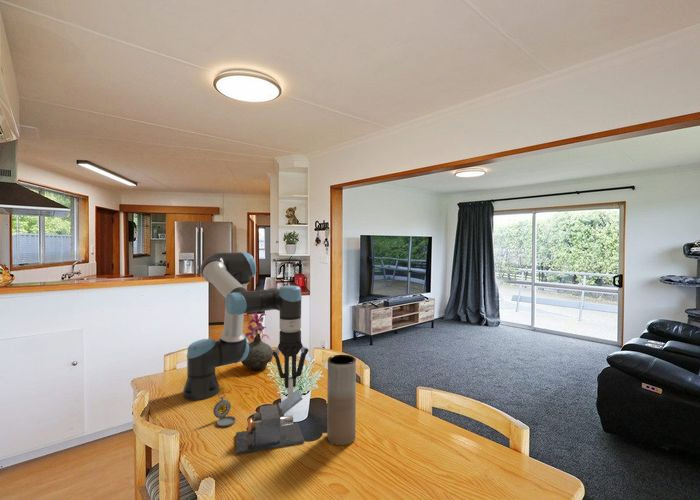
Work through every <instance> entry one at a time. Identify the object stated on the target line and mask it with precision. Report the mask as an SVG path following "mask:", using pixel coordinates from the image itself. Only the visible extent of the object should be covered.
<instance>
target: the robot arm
mask: <svg viewBox="0 0 700 500" xmlns="http://www.w3.org/2000/svg"><path fill="white" fill-rule="evenodd" d="M256 273H257V264H256V261H255V259H254V257H253V255H252V254H251V253H249V252H241V251H240V252H239V251H238V252H215V253H212V254H210V255H208V256H207V257H206V258H205V259H204V260H203V261H202V263H201V265H200V274H201V277H202V278H203V279H204V280H205V281H206V282H207V283H210V284H212V285H213V286H214V287H215V288H216V290H217V291H218V292H219V293H220V294H221V296H223V297H224V299H225V301H224V303H225V304H224V307H225V308H224V317H223V318H224V319H223V321H224V322H223V331H222V332H221V333H220V334H219V340H217V341H216V340H215V339H214V338H204V339H199V340H196V341H194V342H192V343H191V344H189V345H188V347H187V351H186V352H187V354H186V361H187V362H186V363H187V365H186V369H187V370H186V371H187V375H186V377H187V378H186V381H185V384H184V386H183V390H182V397H183V398H184V399H185V400H189V401H199V400H206V399H209V398H212V397H214V396H216V395H217V394H219V392H220V384H219V380H218V378H217V376H216V368H219V367H223V366H228V365H232V364H237V363H239V362H241V363H242V361H243V360H245V359H246V357H247V356H248V353H249V344H250V341H249V338H246V337H245V334H246V333H244V331H243V330H244V329H243V328H244V327H243V326H244V318H245V317H244V316H245V314H251V313H252V314H253V313H258V312H267V311H273V310H275V311H279V343H278V346H277V348H275V349H272V354H273V358H274V359H275V363H276V367H277V372H278V375H279V378H280V379H284V388H285V389H287V397H288V398H293V393H294V388H295V387H297V386H296V385H297V378H298V377H301V376H302V373H303V368H304V364H305V360H306V357H307V354H308V353H309V351H310V350H309V348H308V347H307V346H304V345H303V343H302V331H301V329H302V288H301V287H300V286H298V285H283V286H281V287H280V288H277V287H271V288H267V289H260V290H250V291H249V290H248V289H247V286H248V285H249V284H250V283H251V278H254V277H255V275H256ZM300 352H301V353H300ZM280 353H281V354H282V356H283V357H284V365H283V366H284V373H283V369H282V365H281V364H282V363H281V360H280V357H279V355H280ZM299 353H300V357H299V361H298V365H297V355H298V354H299ZM290 357H291V376H290V375H289V373H290Z"/></svg>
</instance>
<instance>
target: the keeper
mask: <svg viewBox="0 0 700 500" xmlns="http://www.w3.org/2000/svg"><path fill="white" fill-rule="evenodd" d="M302 400H303V397H302V395H301V392H300V390H299V389H297V390H295V391H293V398H288V396H287V397H286V398H284V400H282V401H281V402H278V403H277V407H278V411H279V415H280V417H283V416H285V413H287V412H289V410H292V408H293V407H295V406H296V405H297V404H299V403H300V402H301V401H302Z"/></svg>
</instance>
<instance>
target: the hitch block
mask: <svg viewBox="0 0 700 500" xmlns="http://www.w3.org/2000/svg"><path fill="white" fill-rule="evenodd" d="M280 417H281V416H280V412H279V408H278V403H274V404H269V405H263V406H262V405H261V406H259V412H254V413H253V421H257V420H261V422H257V423H255V431H253V434H251V435H248V430H242V431H236V433H235V441H236V442H235V443H236V444H235V446H236V447H235V448H236V449H235V453H236V456H238V455H243V454H250V453H256V452H261V451H262V452H263V451H266V450H267V451H268V450H272V449H278V448H279V449H280V448H283V447H289V446H295V445H300V444H304V443H305V438H304V435H303V433H302V429H301V427H300V424H299V422H293V424H292V425H286V426H280Z"/></svg>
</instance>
